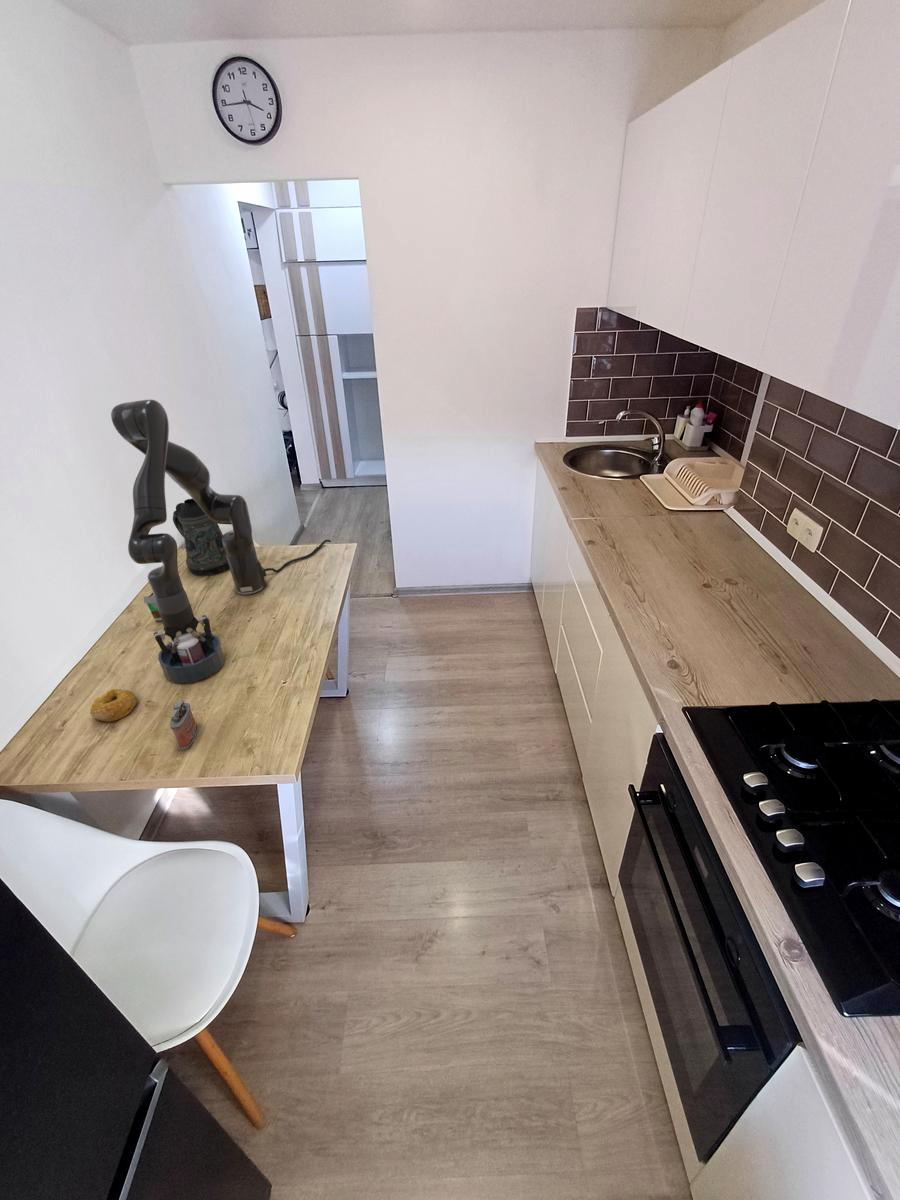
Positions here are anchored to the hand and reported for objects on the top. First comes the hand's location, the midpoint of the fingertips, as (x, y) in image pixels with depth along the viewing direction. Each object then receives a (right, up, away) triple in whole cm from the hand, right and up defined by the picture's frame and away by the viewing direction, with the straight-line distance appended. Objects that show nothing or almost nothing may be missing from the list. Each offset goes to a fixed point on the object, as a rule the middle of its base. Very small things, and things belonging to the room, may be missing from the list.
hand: (192, 656), depth 156 cm
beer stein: (-18, +28, +52) cm, 62 cm away
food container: (-17, +11, +25) cm, 32 cm away
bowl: (0, -3, +2) cm, 4 cm away
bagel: (-14, -12, -12) cm, 22 cm away
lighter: (+9, -17, -21) cm, 29 cm away
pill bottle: (0, -2, +2) cm, 3 cm away
